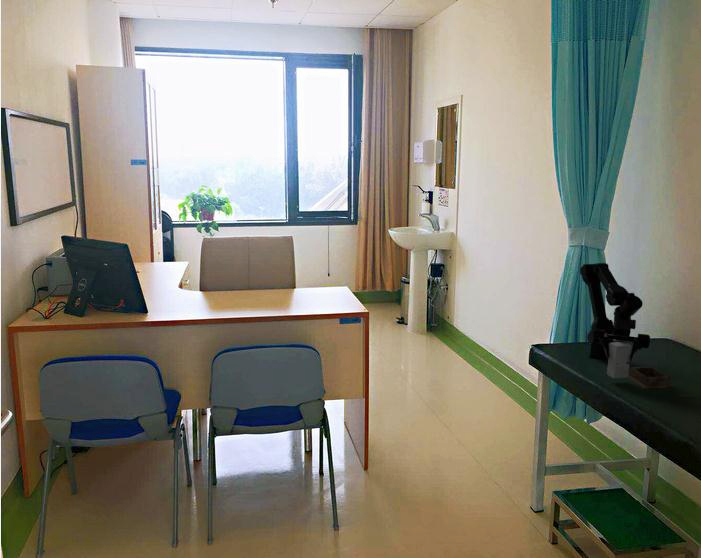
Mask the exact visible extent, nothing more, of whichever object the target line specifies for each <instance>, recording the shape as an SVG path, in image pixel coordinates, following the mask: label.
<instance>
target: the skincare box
mask: <svg viewBox="0 0 701 558" xmlns="http://www.w3.org/2000/svg"><path fill="white" fill-rule="evenodd" d="M609 346H610V348H609V359H607V360H608V362H607V369H606V372H607V373H606V375H608V376H609V377H610V378H612V379H623V378H624V379H625V378H626V377H628V375H629V372H630V363H631V362H630V356H631V351H632V344H630V343H628V342H627V341H613V343H609Z"/></svg>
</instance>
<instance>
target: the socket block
mask: <svg viewBox="0 0 701 558" xmlns="http://www.w3.org/2000/svg"><path fill="white" fill-rule="evenodd" d="M625 378H626V379H627V380H629V381H630V382H632V383H633V384H635V386H636V385H637V386H638V387H639V388H641V389H642V388H643V389H642V390H649V388H652V389H665V388H673V384H672V383H670V380H671V376H669V375H667V374H666V373H664V372H662V371H660V370H659V369H657V368H655V367H653V365H652V366H637V367H629V374H628V377H625Z"/></svg>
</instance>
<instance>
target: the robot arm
mask: <svg viewBox="0 0 701 558" xmlns="http://www.w3.org/2000/svg"><path fill="white" fill-rule="evenodd" d="M579 274H580V275H581V279H582V281H583V282H584V283H585V285H586V286H587V287H588V293H589V294H588V295H589V299H590V305H591V311H592V316H593V321H592V323H591V325H590V330H589V332H588V333H587V334H586V340H587V341H588V342H589V343H590V349H589V350H590V352H589V356H588V357H589V358H590V359H591V358H592V359H598V360H608V359H609V348H610V343H613V342H614V341H617V342H626V343H628V342H629V343H630V342H631V343H632V346H631V354H630V363H631V362H632V360H633V358H634V357H635V355H636V354H637V352H638V350H642V349H648V348H650V342H651V335H650V334H646V333H637V336H631V331H632V330H636V325H637V323H636V322H637V320H636V319H632V316H634V315H636V314H637V312H638V311H639V310H640V309H641V308H642V307H643V300H642V299H641V298H640V297H638V296H637V295H635V292H629V291H628V289H626V287H624V286H622V285H620V284H619V283H618V281H617V280H616V278H615V277H614V275H613V273H612V271H611V270H610V268H609V263H606V262H596V263H584V264H583V265H582V266H580V269H579ZM601 284H602V285H601ZM602 287H603V288H604V290H605V291H606V294H605V299H606V302H607V304H608V305H609V306H611V307H615V308H614V311H613V320H612V319H609V318H608V317H607V312H606V306H605V299H604V296H603V295H604V294H603V291H602Z"/></svg>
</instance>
